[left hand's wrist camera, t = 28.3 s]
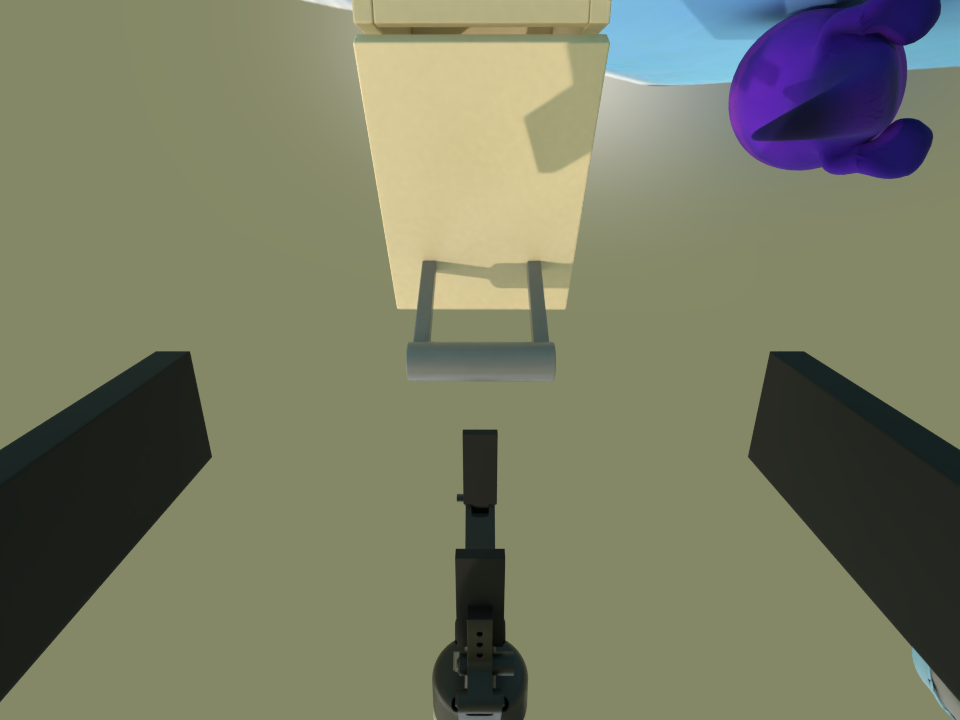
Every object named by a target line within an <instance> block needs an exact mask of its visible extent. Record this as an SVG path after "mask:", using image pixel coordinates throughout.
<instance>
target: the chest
mask: <svg viewBox="0 0 960 720" xmlns="http://www.w3.org/2000/svg"><path fill="white" fill-rule="evenodd" d="M352 8H353V21H354V23H355V24H356V25H357V26H358V27H359V28H360V29H361V30H362V31H363V32H364V33H365V34H366V35H369V34H599V33H600V32H601V31H602V30H603V29H604V28H605V27H606V26H607V25H608V24H609V22H610V11H611V0H352Z"/></svg>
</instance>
